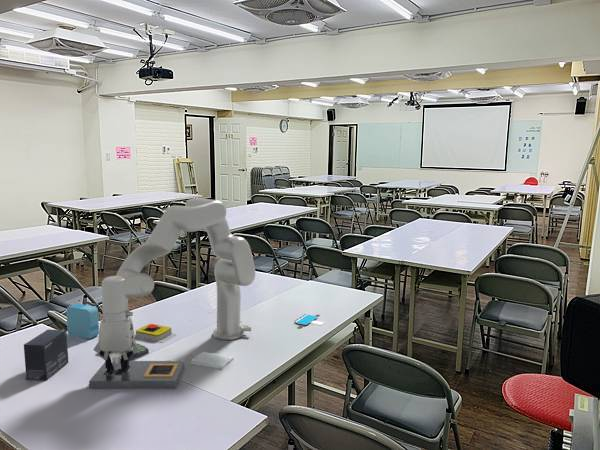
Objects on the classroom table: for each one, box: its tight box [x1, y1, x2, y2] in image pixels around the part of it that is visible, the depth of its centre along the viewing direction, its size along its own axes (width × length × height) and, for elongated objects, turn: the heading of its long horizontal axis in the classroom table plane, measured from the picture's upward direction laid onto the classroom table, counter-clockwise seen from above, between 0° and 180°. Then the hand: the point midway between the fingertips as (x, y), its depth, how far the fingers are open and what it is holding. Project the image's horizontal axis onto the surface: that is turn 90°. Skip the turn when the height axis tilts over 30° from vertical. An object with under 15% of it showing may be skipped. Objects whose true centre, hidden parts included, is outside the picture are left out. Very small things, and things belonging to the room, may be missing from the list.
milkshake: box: [109, 351, 125, 375], centre depth 143 cm, size 5×5×10 cm
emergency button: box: [134, 323, 177, 343], centre depth 179 cm, size 9×4×15 cm
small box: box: [23, 329, 69, 381], centre depth 146 cm, size 13×7×12 cm, turn 178°
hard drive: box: [190, 351, 235, 370], centre depth 158 cm, size 2×8×12 cm
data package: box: [66, 303, 100, 340], centre depth 176 cm, size 12×4×12 cm, turn 69°
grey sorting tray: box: [88, 360, 186, 390], centre depth 144 cm, size 26×14×3 cm, turn 94°
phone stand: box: [294, 313, 325, 329], centre depth 200 cm, size 20×12×2 cm, turn 152°
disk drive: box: [111, 343, 150, 361], centre depth 162 cm, size 10×3×15 cm
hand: (117, 369), depth 143 cm, fingers closed on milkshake, 4 cm apart
